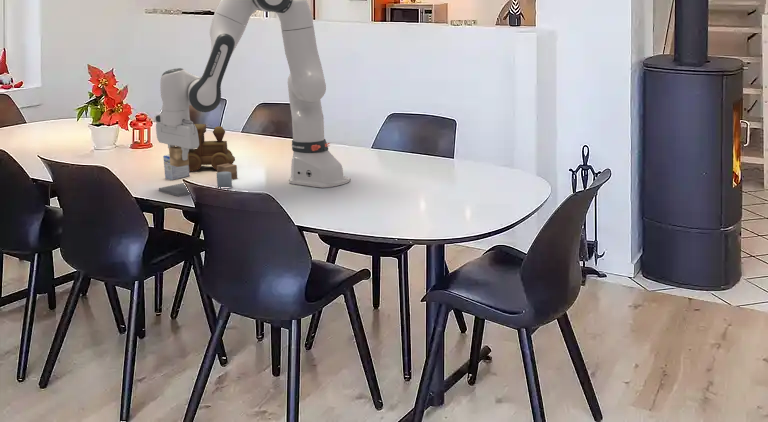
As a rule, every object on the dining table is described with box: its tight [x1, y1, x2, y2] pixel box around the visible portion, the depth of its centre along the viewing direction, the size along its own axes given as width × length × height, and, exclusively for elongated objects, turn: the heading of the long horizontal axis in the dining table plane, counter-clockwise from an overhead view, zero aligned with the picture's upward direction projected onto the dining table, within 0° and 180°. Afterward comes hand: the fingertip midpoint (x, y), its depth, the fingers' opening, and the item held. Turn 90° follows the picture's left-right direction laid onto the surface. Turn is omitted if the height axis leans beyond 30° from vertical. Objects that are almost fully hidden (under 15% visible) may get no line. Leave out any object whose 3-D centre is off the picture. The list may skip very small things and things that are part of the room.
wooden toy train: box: [188, 123, 236, 173], centre depth 329 cm, size 20×11×17 cm, turn 91°
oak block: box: [168, 146, 189, 167], centre depth 294 cm, size 4×4×6 cm
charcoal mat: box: [158, 182, 190, 197], centre depth 297 cm, size 12×11×1 cm
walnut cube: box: [216, 163, 238, 180], centre depth 313 cm, size 5×5×5 cm
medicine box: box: [163, 154, 190, 181], centre depth 316 cm, size 8×4×9 cm, turn 141°
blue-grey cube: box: [216, 172, 233, 188], centre depth 300 cm, size 5×5×5 cm
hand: (179, 158), depth 294 cm, fingers closed on oak block, 4 cm apart
